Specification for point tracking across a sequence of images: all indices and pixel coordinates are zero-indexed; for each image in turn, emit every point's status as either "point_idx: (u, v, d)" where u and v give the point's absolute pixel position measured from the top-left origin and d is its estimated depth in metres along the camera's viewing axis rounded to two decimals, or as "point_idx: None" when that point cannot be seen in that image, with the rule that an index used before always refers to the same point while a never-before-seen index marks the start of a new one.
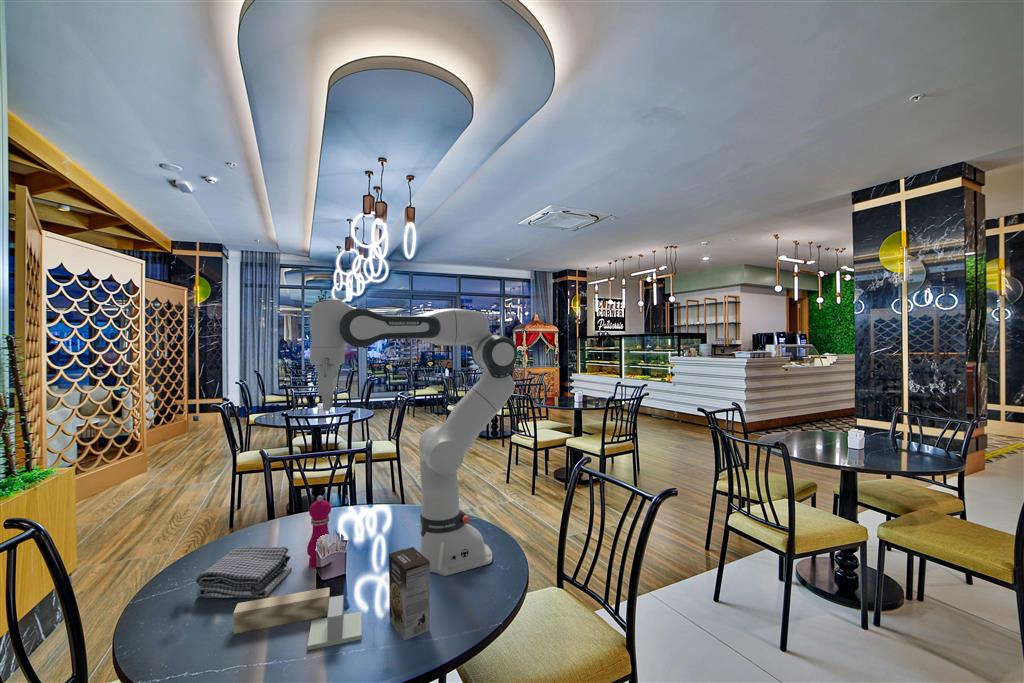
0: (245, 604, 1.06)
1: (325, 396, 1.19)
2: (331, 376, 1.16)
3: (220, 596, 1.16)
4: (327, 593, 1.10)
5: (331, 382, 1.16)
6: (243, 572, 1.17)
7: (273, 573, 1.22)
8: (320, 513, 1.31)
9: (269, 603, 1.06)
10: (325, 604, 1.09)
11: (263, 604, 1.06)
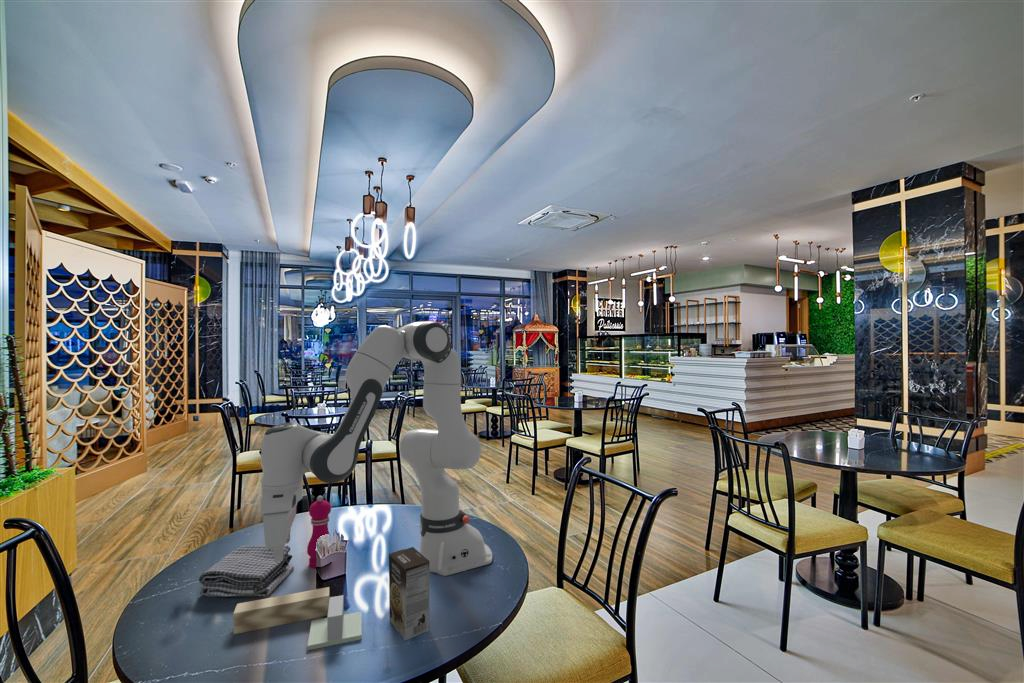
0: (244, 605, 1.05)
1: None
2: None
3: (223, 595, 1.16)
4: (327, 593, 1.10)
5: None
6: (245, 571, 1.18)
7: (275, 572, 1.22)
8: (320, 513, 1.31)
9: (270, 603, 1.06)
10: (325, 604, 1.09)
11: (263, 604, 1.06)
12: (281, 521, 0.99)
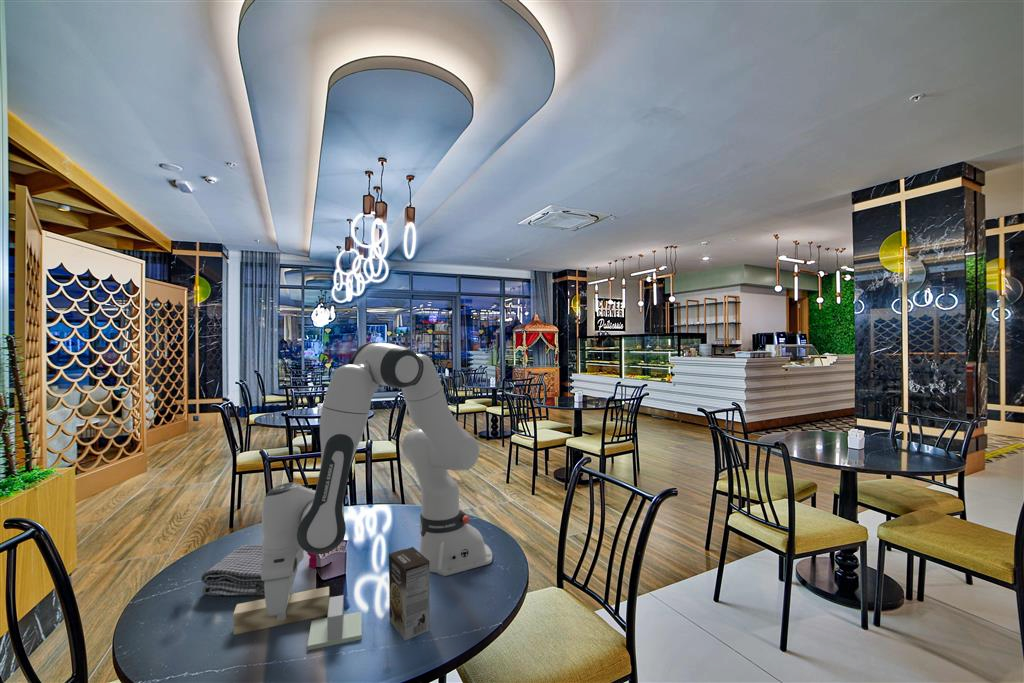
0: (244, 605, 1.05)
1: None
2: None
3: (225, 594, 1.17)
4: (327, 592, 1.10)
5: None
6: (248, 570, 1.18)
7: None
8: None
9: None
10: (325, 603, 1.09)
11: (263, 604, 1.06)
12: (282, 587, 0.99)
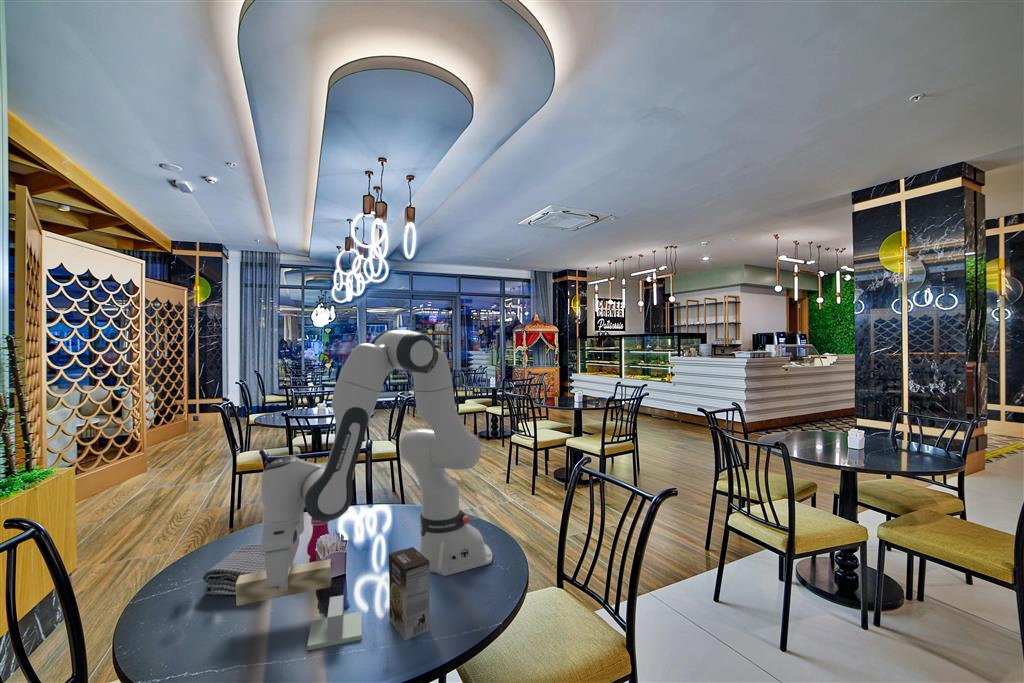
0: (247, 576, 1.06)
1: None
2: None
3: (227, 593, 1.17)
4: (328, 564, 1.11)
5: None
6: (249, 569, 1.19)
7: None
8: None
9: None
10: (327, 575, 1.10)
11: (265, 575, 1.07)
12: (282, 558, 1.00)
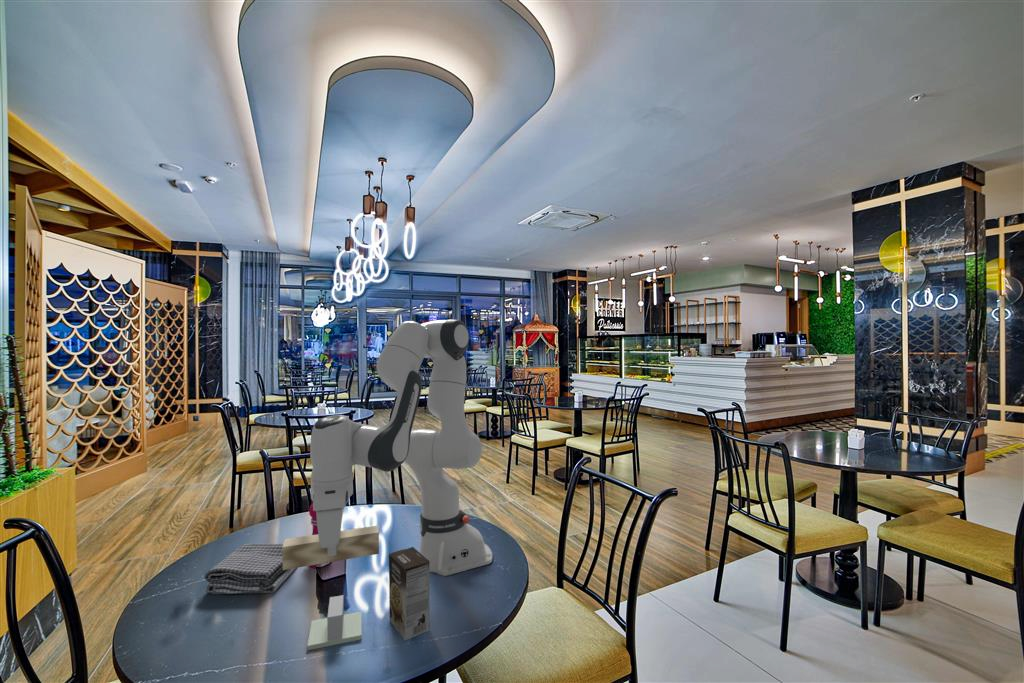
0: (292, 540, 1.01)
1: None
2: None
3: (229, 592, 1.18)
4: (376, 530, 1.06)
5: None
6: (251, 568, 1.19)
7: None
8: None
9: (318, 539, 1.01)
10: (375, 541, 1.04)
11: (312, 539, 1.01)
12: (335, 518, 0.94)
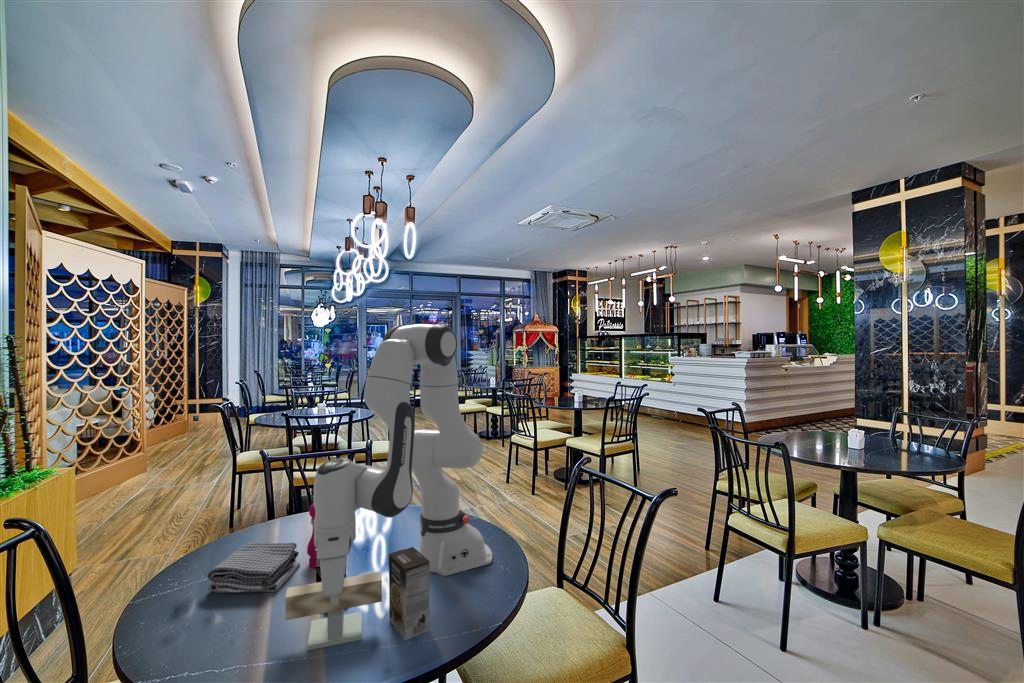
0: (295, 589, 1.01)
1: None
2: None
3: (231, 591, 1.18)
4: (379, 577, 1.05)
5: None
6: (254, 567, 1.20)
7: (283, 568, 1.24)
8: None
9: (321, 588, 1.01)
10: (378, 589, 1.04)
11: (315, 588, 1.01)
12: (339, 566, 0.94)
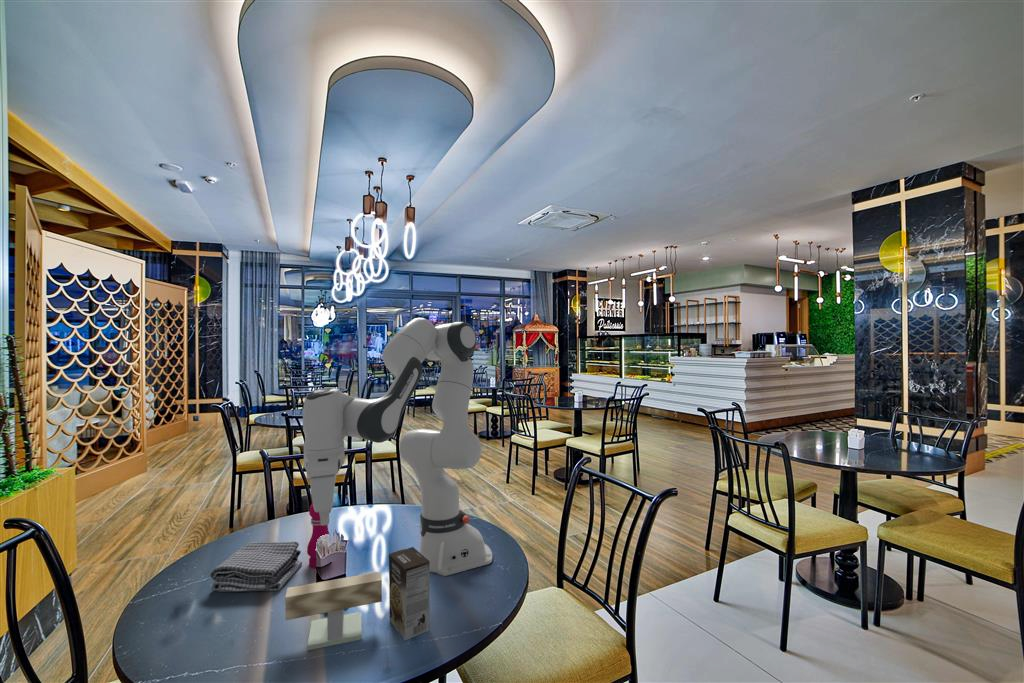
0: (295, 589, 1.01)
1: None
2: None
3: (234, 590, 1.19)
4: (379, 577, 1.05)
5: None
6: (257, 566, 1.20)
7: None
8: None
9: (321, 588, 1.01)
10: (378, 589, 1.04)
11: (315, 588, 1.01)
12: (328, 484, 0.98)
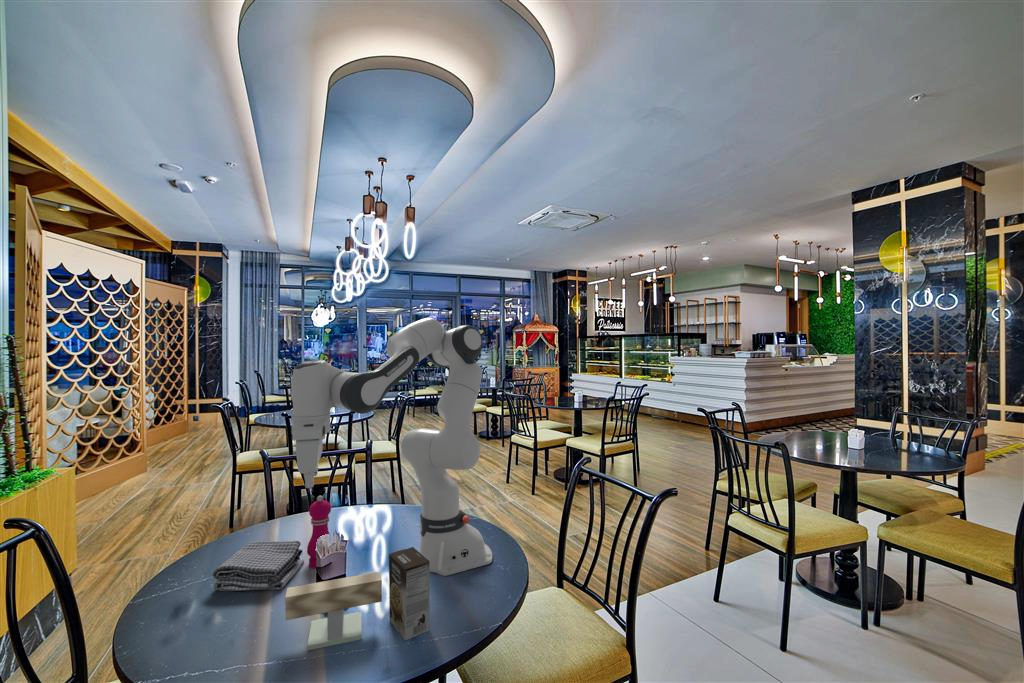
0: (295, 589, 1.01)
1: None
2: None
3: (237, 589, 1.19)
4: (379, 577, 1.05)
5: None
6: (259, 565, 1.21)
7: (288, 566, 1.26)
8: (320, 513, 1.31)
9: (321, 588, 1.01)
10: (378, 589, 1.04)
11: (315, 588, 1.01)
12: (312, 447, 1.04)
